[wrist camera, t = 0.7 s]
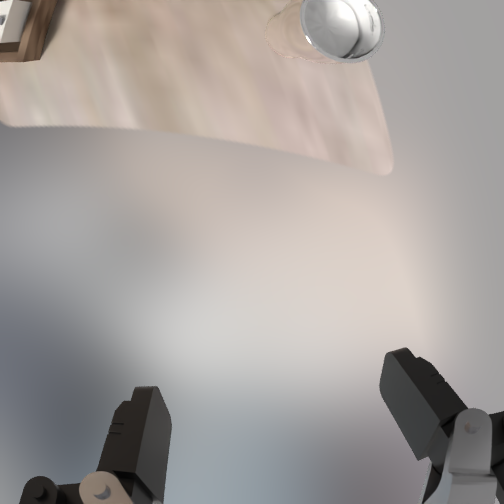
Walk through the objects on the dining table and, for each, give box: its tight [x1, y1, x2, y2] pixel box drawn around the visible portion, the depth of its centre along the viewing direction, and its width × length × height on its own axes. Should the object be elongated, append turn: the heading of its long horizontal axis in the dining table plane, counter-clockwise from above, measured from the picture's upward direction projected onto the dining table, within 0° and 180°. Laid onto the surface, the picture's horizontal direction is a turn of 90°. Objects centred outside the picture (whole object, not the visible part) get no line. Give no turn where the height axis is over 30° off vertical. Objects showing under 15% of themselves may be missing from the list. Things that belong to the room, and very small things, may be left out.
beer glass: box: [265, 0, 385, 64], centre depth 21 cm, size 7×7×15 cm
